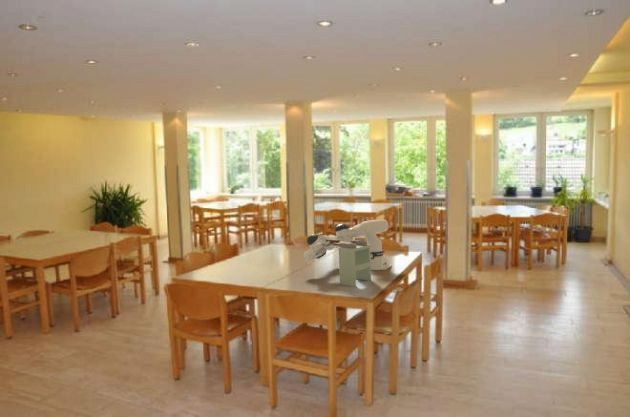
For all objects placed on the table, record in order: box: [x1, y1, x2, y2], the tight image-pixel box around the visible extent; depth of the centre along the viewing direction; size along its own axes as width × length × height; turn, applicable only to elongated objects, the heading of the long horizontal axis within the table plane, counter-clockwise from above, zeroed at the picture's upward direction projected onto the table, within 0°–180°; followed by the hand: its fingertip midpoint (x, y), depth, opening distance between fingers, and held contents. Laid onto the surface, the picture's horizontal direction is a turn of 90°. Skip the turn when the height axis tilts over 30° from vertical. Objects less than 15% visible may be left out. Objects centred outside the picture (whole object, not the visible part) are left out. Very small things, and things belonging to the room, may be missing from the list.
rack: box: [337, 237, 372, 287], centre depth 361 cm, size 20×13×31 cm, turn 139°
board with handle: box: [326, 239, 354, 247], centre depth 368 cm, size 10×20×3 cm, turn 49°
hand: (332, 241), depth 371 cm, fingers closed on board with handle, 3 cm apart
